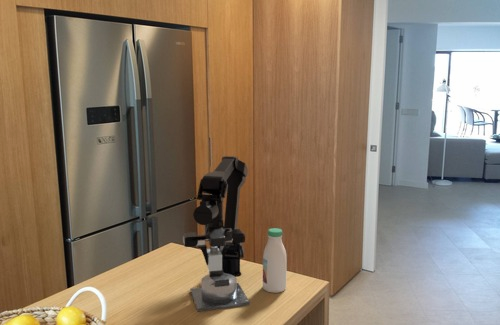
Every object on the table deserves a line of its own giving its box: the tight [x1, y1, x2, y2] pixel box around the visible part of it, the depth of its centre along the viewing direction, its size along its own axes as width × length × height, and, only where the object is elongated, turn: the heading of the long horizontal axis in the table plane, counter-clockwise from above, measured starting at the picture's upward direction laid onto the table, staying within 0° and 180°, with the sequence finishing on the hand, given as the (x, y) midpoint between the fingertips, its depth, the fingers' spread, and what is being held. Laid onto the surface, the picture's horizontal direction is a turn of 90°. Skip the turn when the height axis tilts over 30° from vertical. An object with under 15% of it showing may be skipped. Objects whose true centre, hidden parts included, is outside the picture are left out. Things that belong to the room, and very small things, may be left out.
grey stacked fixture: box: [190, 269, 251, 313], centre depth 144 cm, size 16×14×8 cm
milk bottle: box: [262, 227, 288, 294], centre depth 150 cm, size 8×8×20 cm
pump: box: [205, 246, 222, 272], centre depth 144 cm, size 4×6×6 cm, turn 14°
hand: (214, 264), depth 144 cm, fingers closed on pump, 4 cm apart
